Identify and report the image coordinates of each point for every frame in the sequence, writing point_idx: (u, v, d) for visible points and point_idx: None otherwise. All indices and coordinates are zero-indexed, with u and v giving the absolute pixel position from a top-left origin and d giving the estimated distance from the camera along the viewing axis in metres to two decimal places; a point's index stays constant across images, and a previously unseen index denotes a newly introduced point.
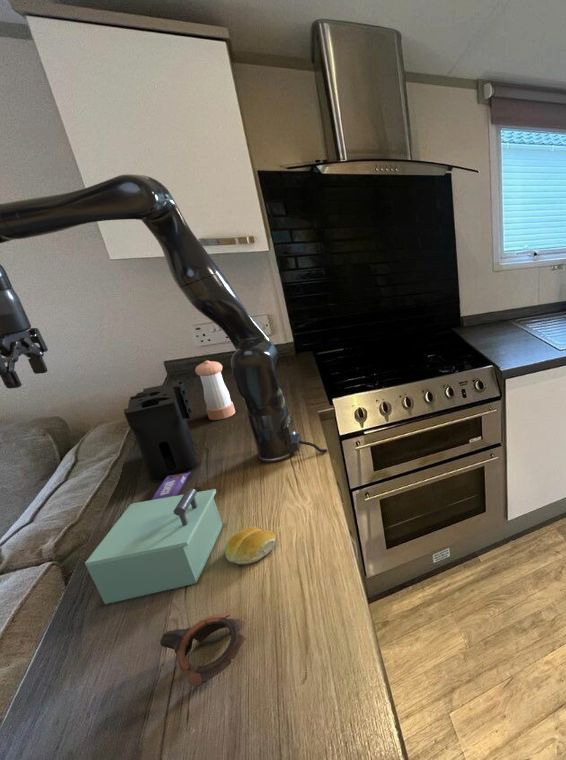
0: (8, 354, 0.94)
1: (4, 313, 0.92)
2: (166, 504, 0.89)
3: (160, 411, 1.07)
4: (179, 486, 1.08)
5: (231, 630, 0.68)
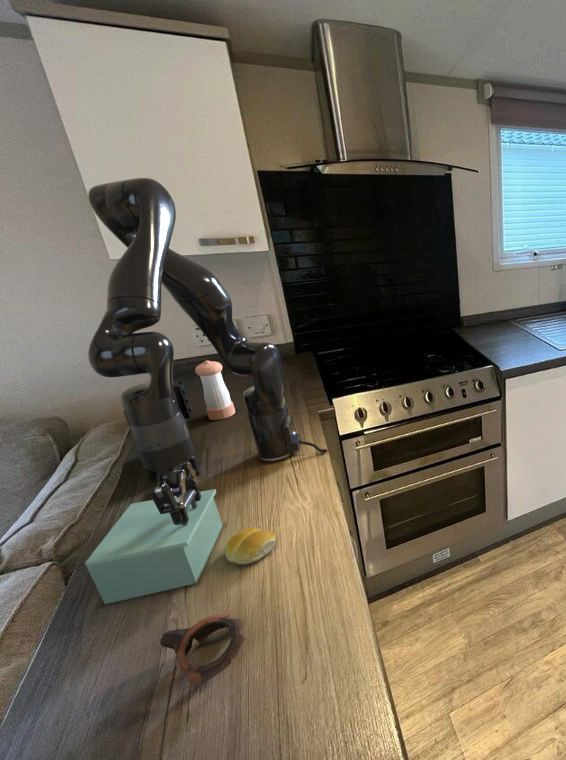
0: (174, 487, 0.81)
1: (174, 443, 0.78)
2: None
3: None
4: None
5: (231, 630, 0.68)
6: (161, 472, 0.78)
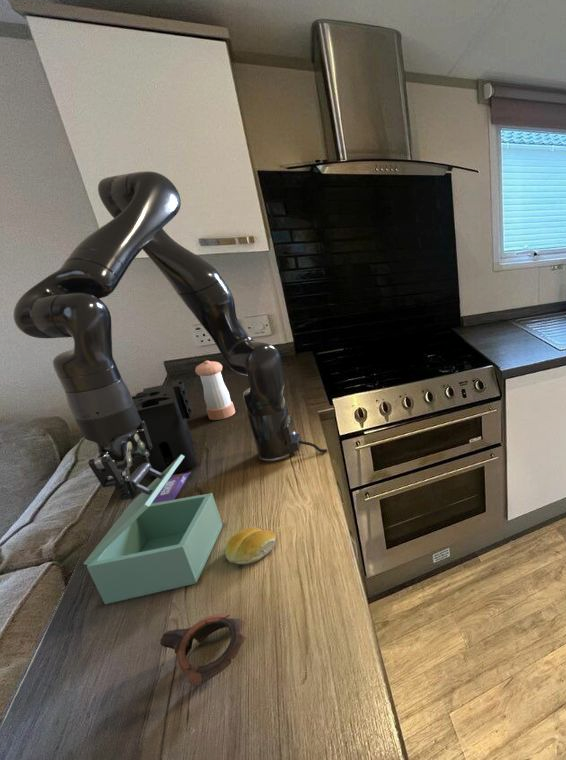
0: (118, 459, 0.76)
1: (115, 412, 0.74)
2: (147, 488, 0.87)
3: (160, 411, 1.07)
4: (179, 486, 1.08)
5: (231, 630, 0.68)
6: (102, 443, 0.74)
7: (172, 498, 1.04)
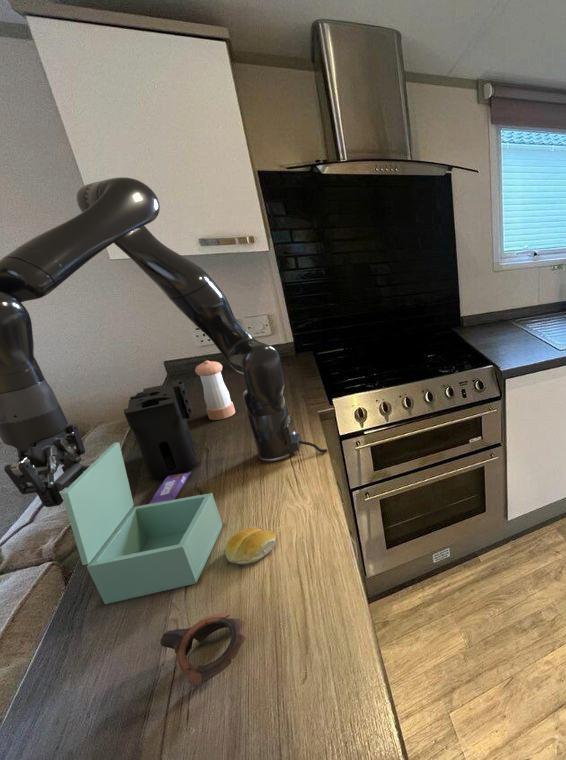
0: (41, 465, 0.73)
1: (36, 415, 0.70)
2: None
3: (160, 411, 1.07)
4: (179, 486, 1.08)
5: (231, 630, 0.68)
6: (21, 448, 0.70)
7: (172, 498, 1.04)
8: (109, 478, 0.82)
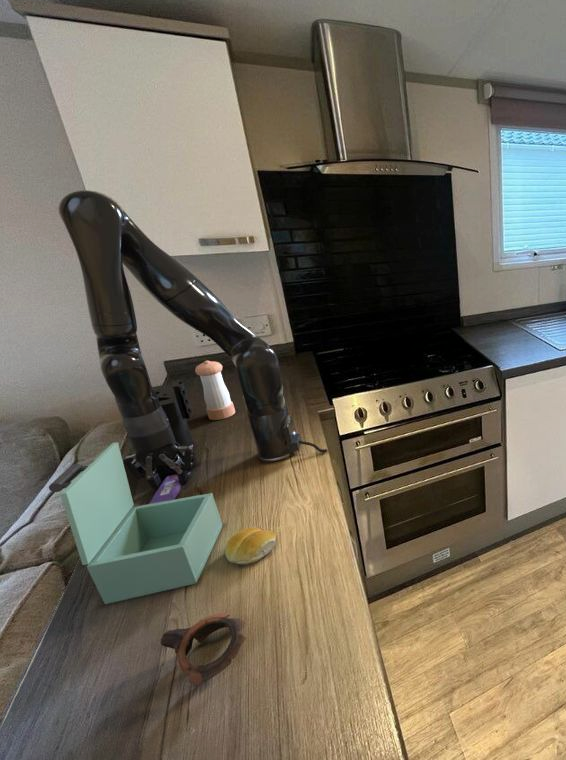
0: None
1: (129, 435, 1.00)
2: None
3: None
4: (179, 486, 1.08)
5: (231, 630, 0.68)
6: None
7: (172, 498, 1.04)
8: (108, 478, 0.81)
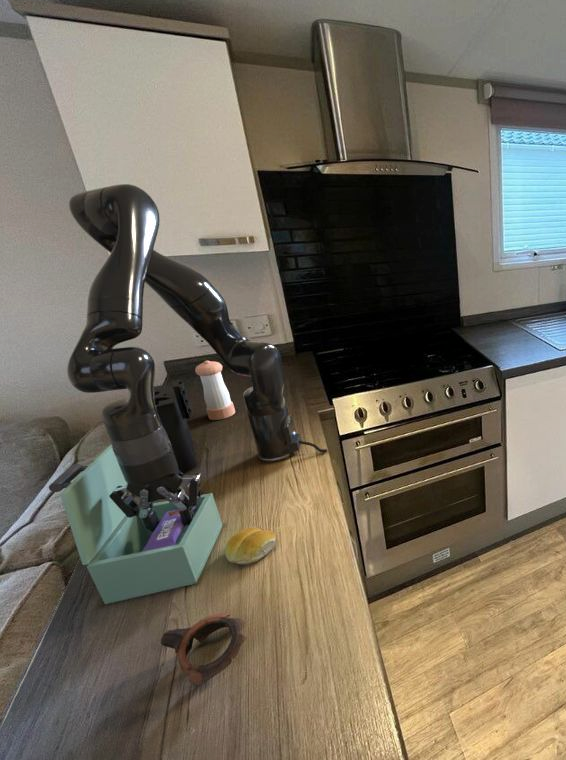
0: None
1: (119, 463, 0.77)
2: None
3: (160, 411, 1.07)
4: (181, 527, 0.85)
5: (232, 629, 0.68)
6: None
7: (172, 544, 0.81)
8: (108, 478, 0.81)
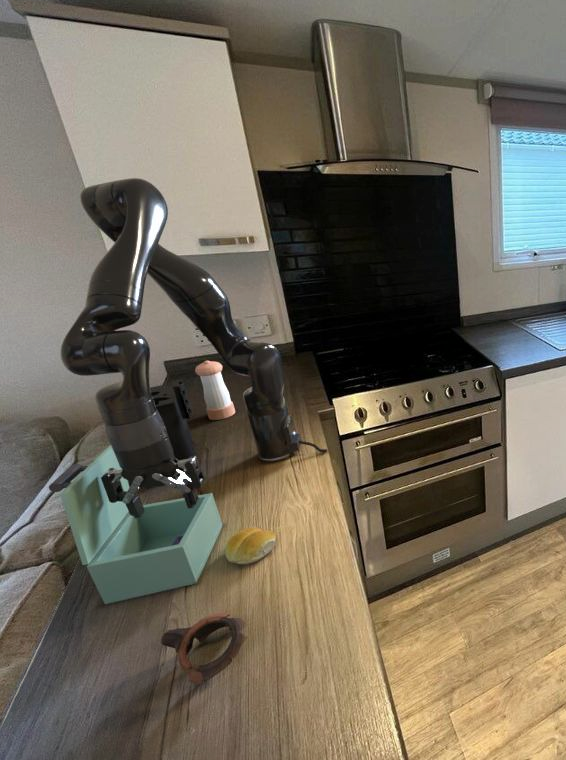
0: None
1: (113, 448, 0.75)
2: None
3: (160, 411, 1.07)
4: None
5: (232, 629, 0.68)
6: None
7: None
8: None
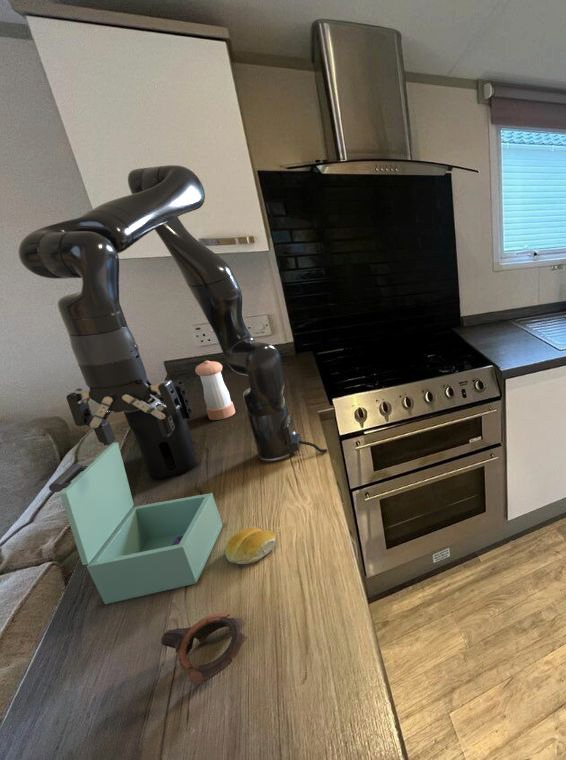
0: None
1: (79, 363, 0.70)
2: None
3: None
4: None
5: (232, 629, 0.68)
6: None
7: None
8: (108, 478, 0.81)
